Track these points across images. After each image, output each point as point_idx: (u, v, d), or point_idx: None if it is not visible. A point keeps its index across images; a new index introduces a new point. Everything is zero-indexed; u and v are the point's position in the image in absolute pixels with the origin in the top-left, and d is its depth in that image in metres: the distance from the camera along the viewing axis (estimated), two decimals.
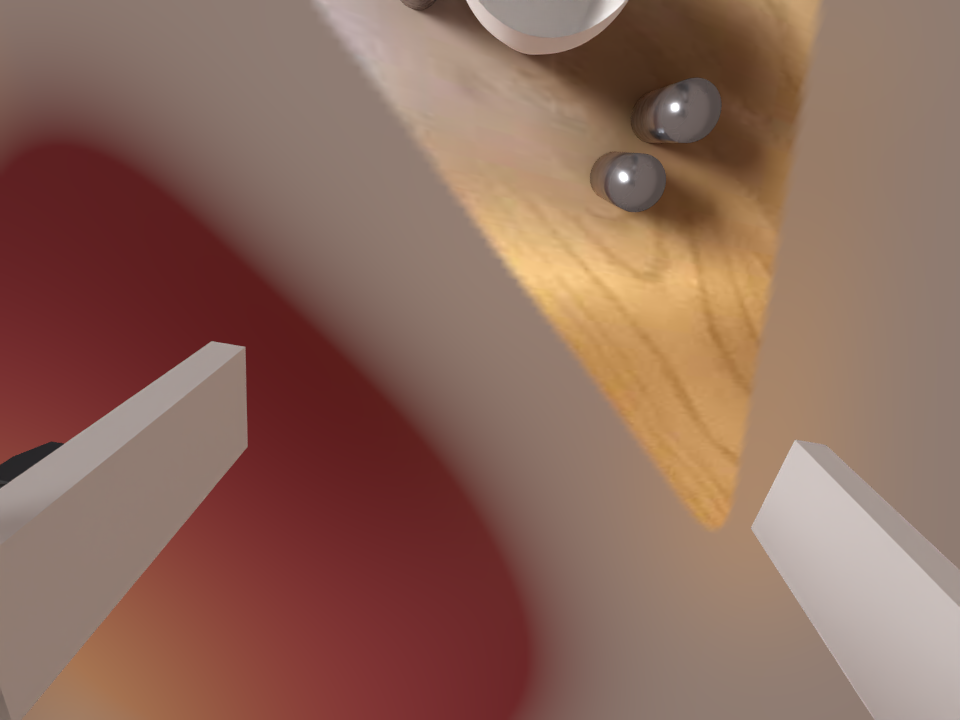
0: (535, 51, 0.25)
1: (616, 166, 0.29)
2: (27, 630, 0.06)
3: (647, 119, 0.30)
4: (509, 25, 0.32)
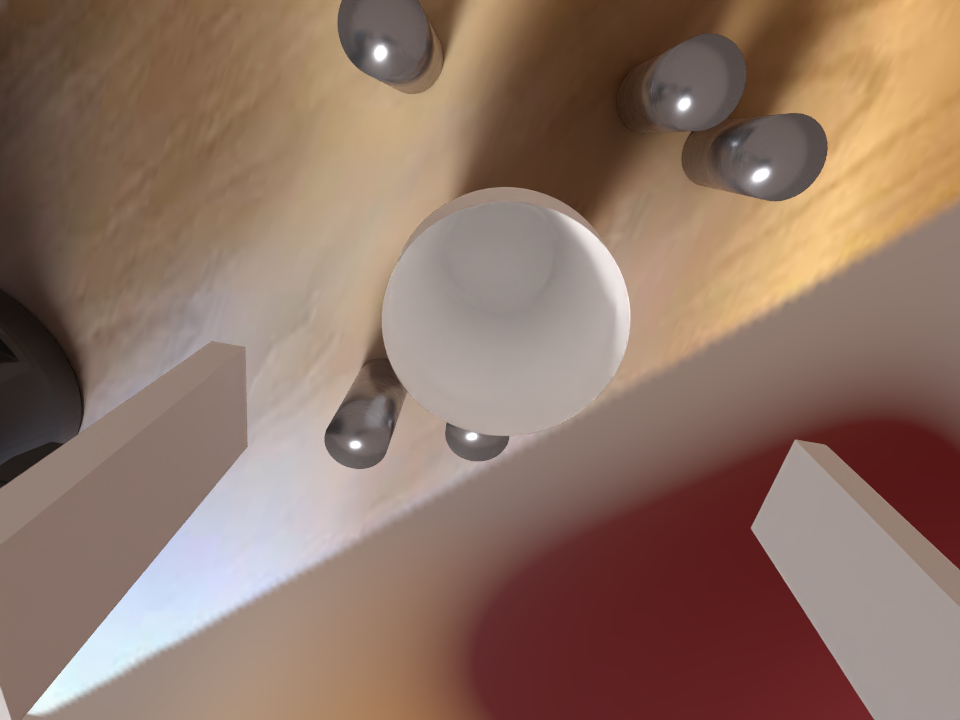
0: (614, 323, 0.20)
1: (751, 192, 0.20)
2: (27, 630, 0.06)
3: None
4: (527, 286, 0.29)
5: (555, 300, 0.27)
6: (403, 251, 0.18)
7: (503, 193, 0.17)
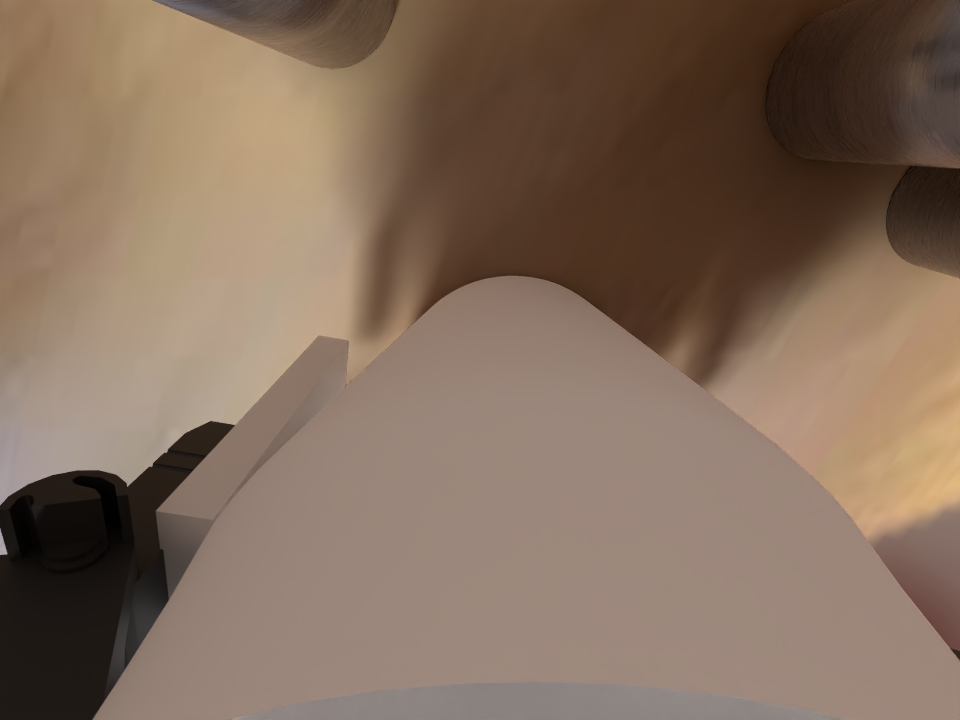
0: None
1: None
2: None
3: None
4: None
5: None
6: None
7: (544, 457, 0.04)
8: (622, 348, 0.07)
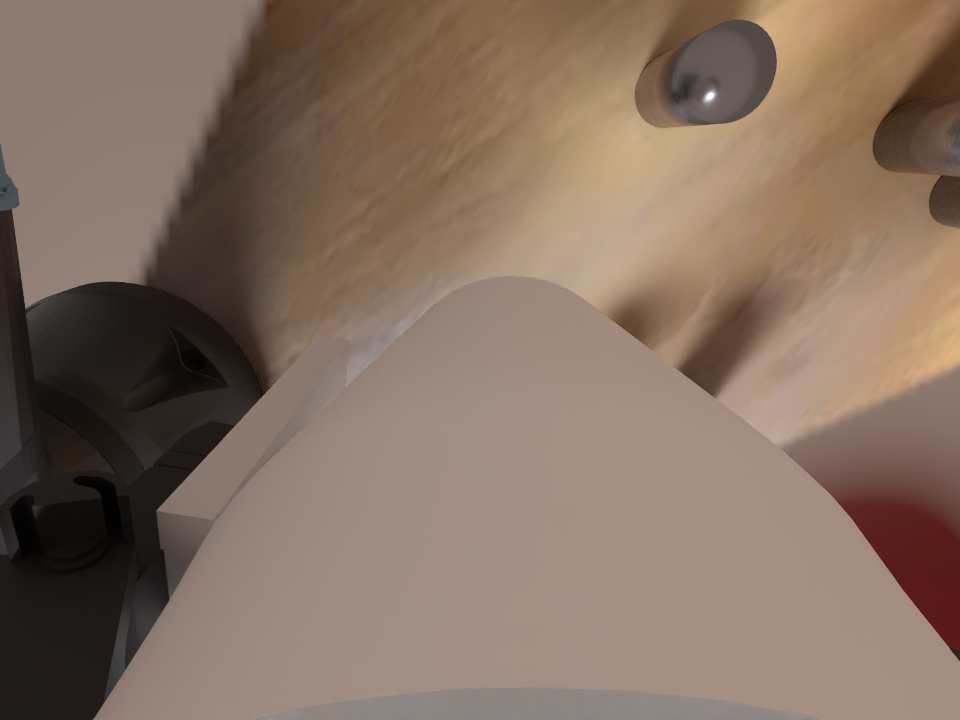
0: None
1: None
2: None
3: None
4: None
5: None
6: None
7: (545, 459, 0.04)
8: (622, 349, 0.07)
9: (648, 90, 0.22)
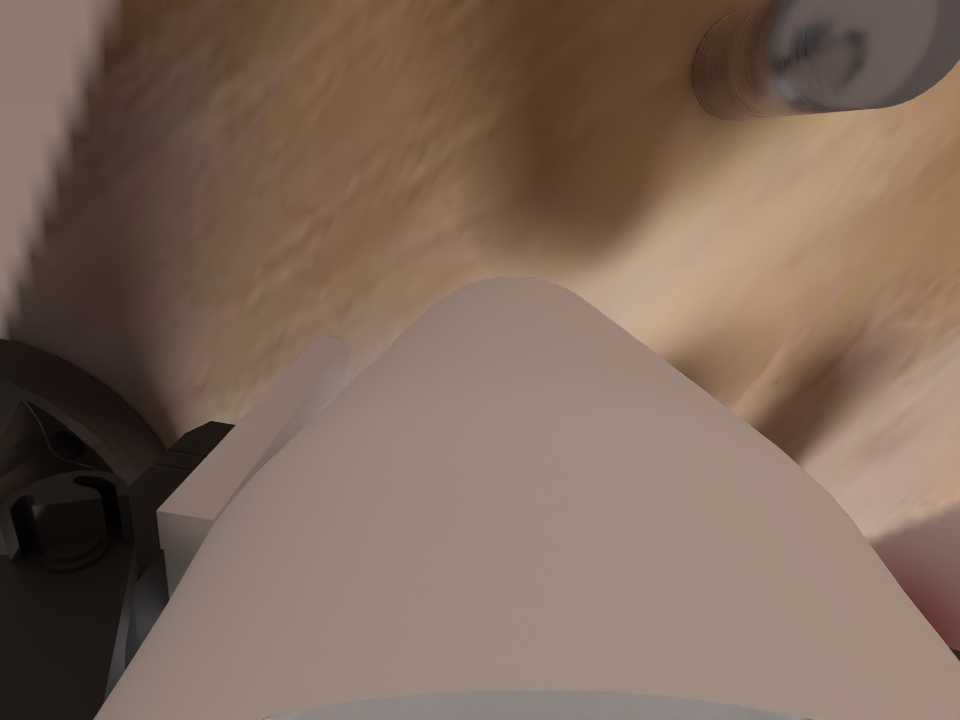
0: None
1: None
2: None
3: None
4: None
5: None
6: (140, 646, 0.05)
7: (545, 460, 0.04)
8: (623, 349, 0.07)
9: (722, 61, 0.14)
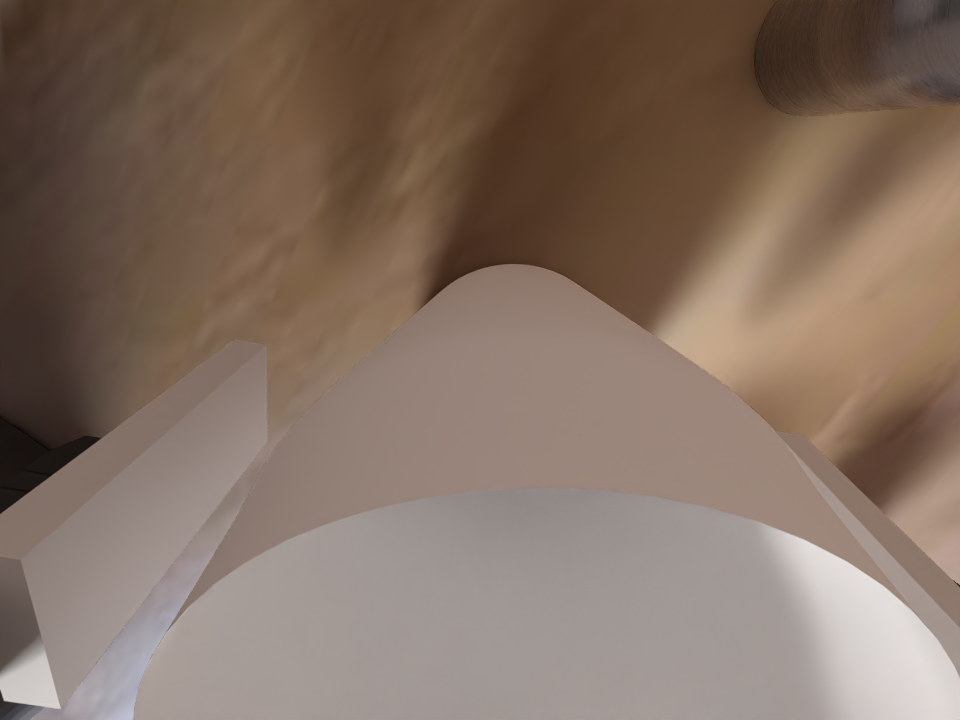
0: (800, 647, 0.08)
1: None
2: (73, 615, 0.07)
3: None
4: None
5: None
6: (229, 529, 0.06)
7: (538, 378, 0.05)
8: (605, 315, 0.08)
9: (808, 34, 0.11)
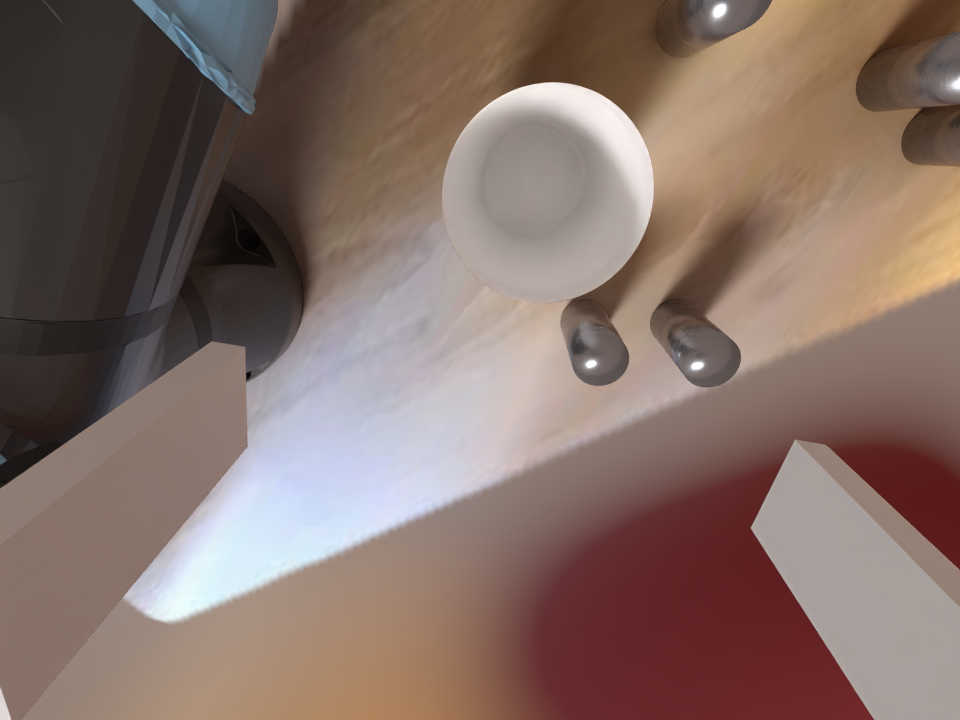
0: (635, 219, 0.23)
1: None
2: (27, 630, 0.06)
3: (934, 106, 0.25)
4: (554, 212, 0.32)
5: (579, 222, 0.31)
6: (464, 130, 0.21)
7: (555, 85, 0.21)
8: (576, 102, 0.24)
9: (668, 15, 0.26)
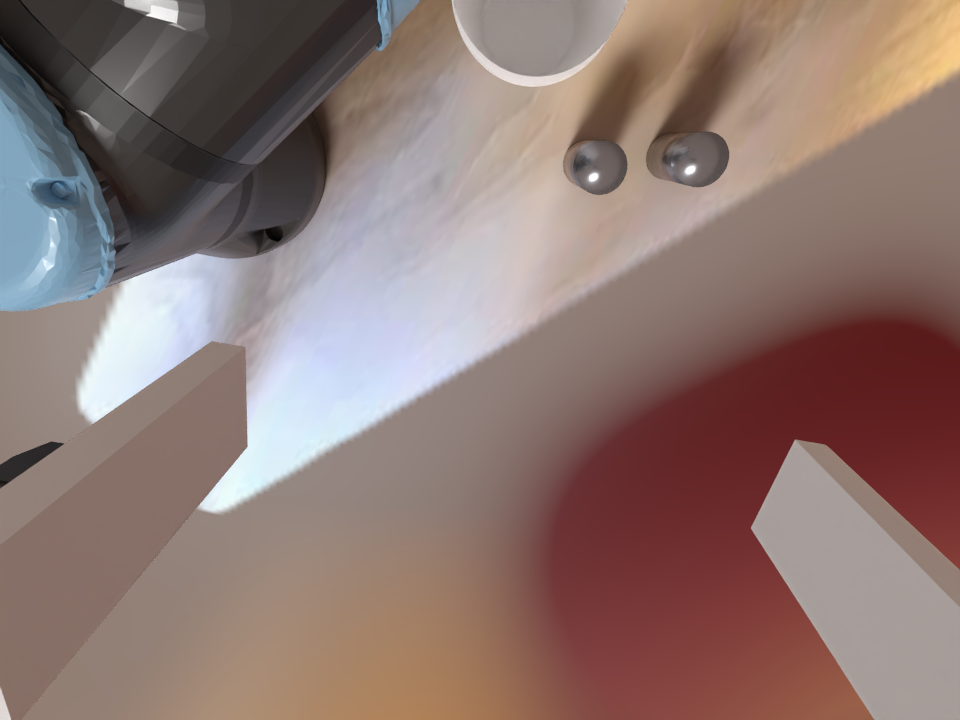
0: (622, 2, 0.26)
1: None
2: (27, 630, 0.06)
3: None
4: (550, 54, 0.35)
5: (574, 53, 0.33)
6: None
7: None
8: None
9: None
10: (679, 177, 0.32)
